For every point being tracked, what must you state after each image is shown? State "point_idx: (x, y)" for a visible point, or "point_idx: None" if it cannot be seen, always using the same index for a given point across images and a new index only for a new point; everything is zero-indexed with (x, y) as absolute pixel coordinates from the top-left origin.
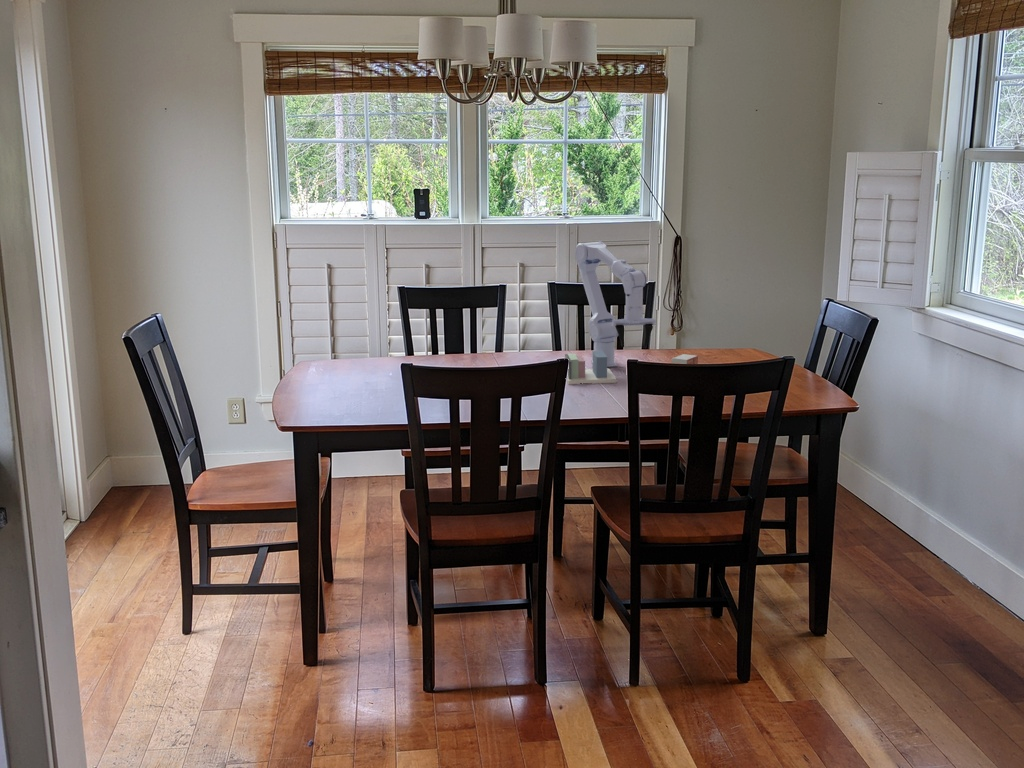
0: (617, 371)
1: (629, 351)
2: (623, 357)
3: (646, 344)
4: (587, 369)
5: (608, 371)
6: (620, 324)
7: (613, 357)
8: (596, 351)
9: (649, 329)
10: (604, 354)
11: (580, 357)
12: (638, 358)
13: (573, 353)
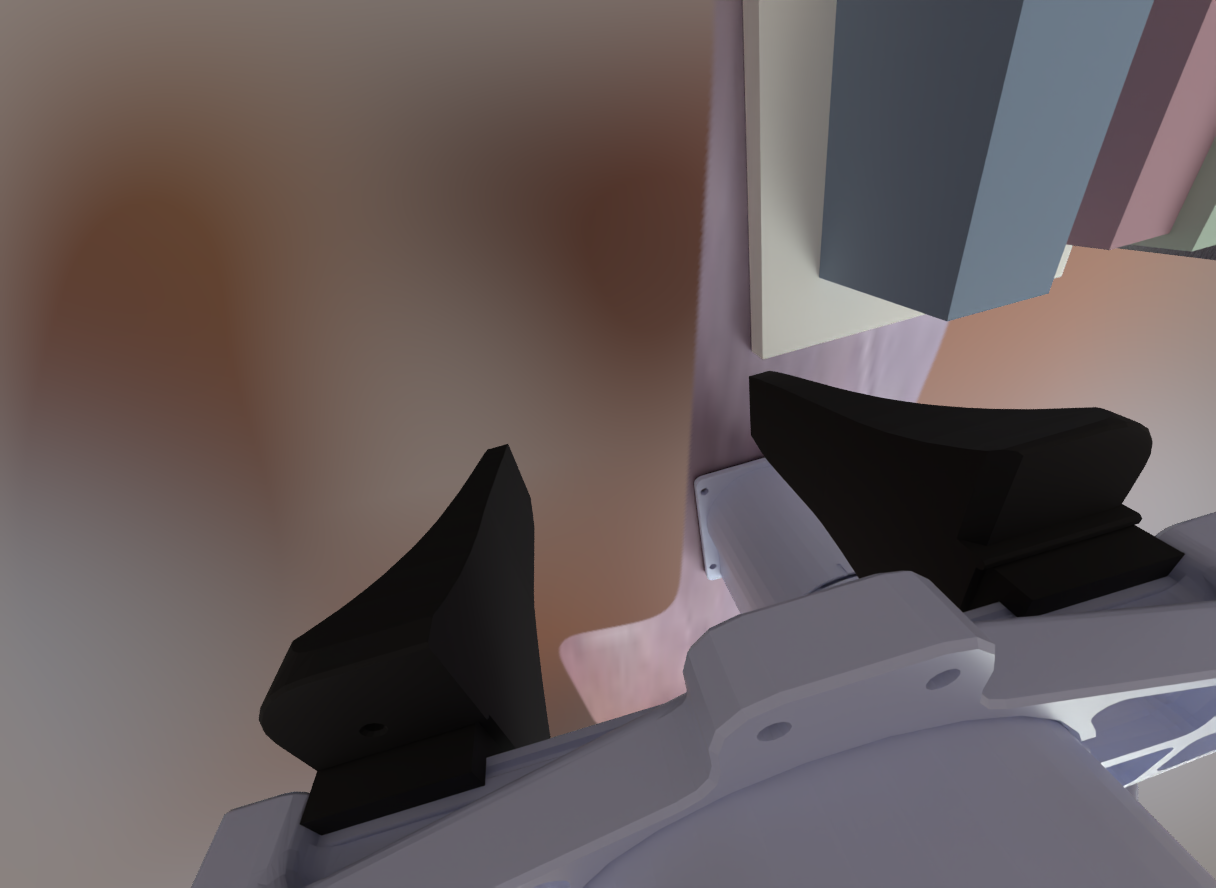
0: (696, 370)
1: (627, 713)
2: (652, 639)
3: (481, 460)
4: (908, 309)
5: (781, 257)
6: (1074, 610)
7: (729, 528)
8: (1019, 279)
9: (367, 613)
10: (1014, 80)
11: (1169, 149)
12: (583, 640)
13: (1206, 241)
